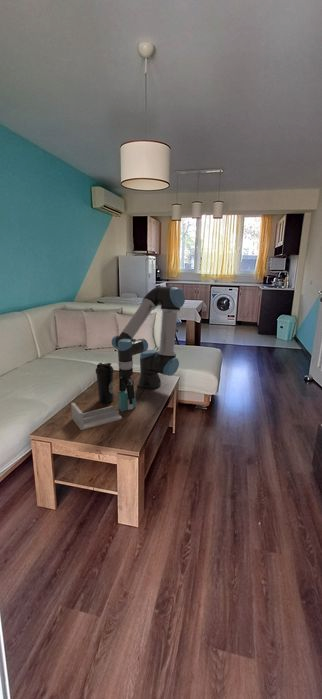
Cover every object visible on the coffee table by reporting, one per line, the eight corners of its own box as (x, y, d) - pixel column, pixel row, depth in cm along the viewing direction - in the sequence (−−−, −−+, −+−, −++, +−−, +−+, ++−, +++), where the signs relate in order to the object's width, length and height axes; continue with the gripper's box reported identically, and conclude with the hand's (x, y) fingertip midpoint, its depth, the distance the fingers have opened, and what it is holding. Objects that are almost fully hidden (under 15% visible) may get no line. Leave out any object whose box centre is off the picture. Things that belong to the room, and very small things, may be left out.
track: (111, 408, 183) (110, 394, 181) (121, 418, 172) (121, 403, 170) (72, 418, 172) (71, 403, 170) (81, 430, 161) (79, 413, 158)
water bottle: (111, 404, 189) (109, 367, 182) (94, 403, 191) (92, 365, 184) (117, 397, 198) (115, 361, 192) (101, 396, 200) (99, 360, 194)
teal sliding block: (133, 405, 188) (132, 389, 185) (135, 407, 185) (135, 391, 182) (118, 409, 183) (117, 392, 181) (121, 411, 181) (120, 394, 178)
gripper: (111, 364, 184) (113, 401, 190) (127, 374, 168) (129, 415, 174) (124, 361, 188) (125, 398, 194) (140, 371, 171) (141, 411, 178)
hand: (127, 406), depth 184 cm, fingers open, 7 cm apart
